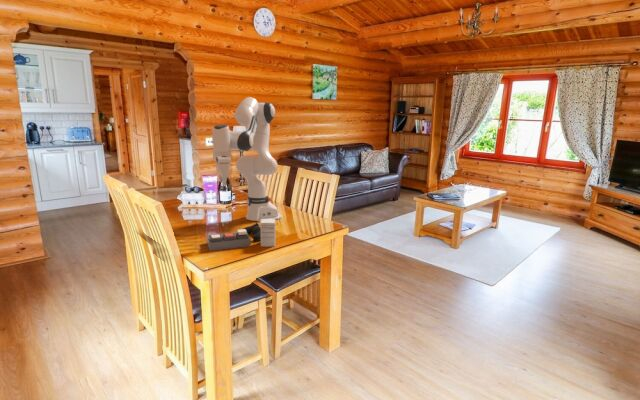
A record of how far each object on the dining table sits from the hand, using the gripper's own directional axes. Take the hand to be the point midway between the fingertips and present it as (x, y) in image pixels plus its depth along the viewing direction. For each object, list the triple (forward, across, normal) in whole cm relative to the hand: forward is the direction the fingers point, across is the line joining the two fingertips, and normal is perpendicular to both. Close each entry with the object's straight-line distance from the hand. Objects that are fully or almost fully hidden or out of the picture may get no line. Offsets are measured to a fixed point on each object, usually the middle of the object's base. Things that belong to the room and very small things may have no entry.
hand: (223, 183), depth 192 cm
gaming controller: (+30, +4, +16) cm, 34 cm away
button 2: (+23, +14, +6) cm, 28 cm away
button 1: (+25, +14, -6) cm, 29 cm away
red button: (+25, +14, 0) cm, 29 cm away
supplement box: (+29, +18, +19) cm, 39 cm away
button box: (+29, +12, 0) cm, 31 cm away
